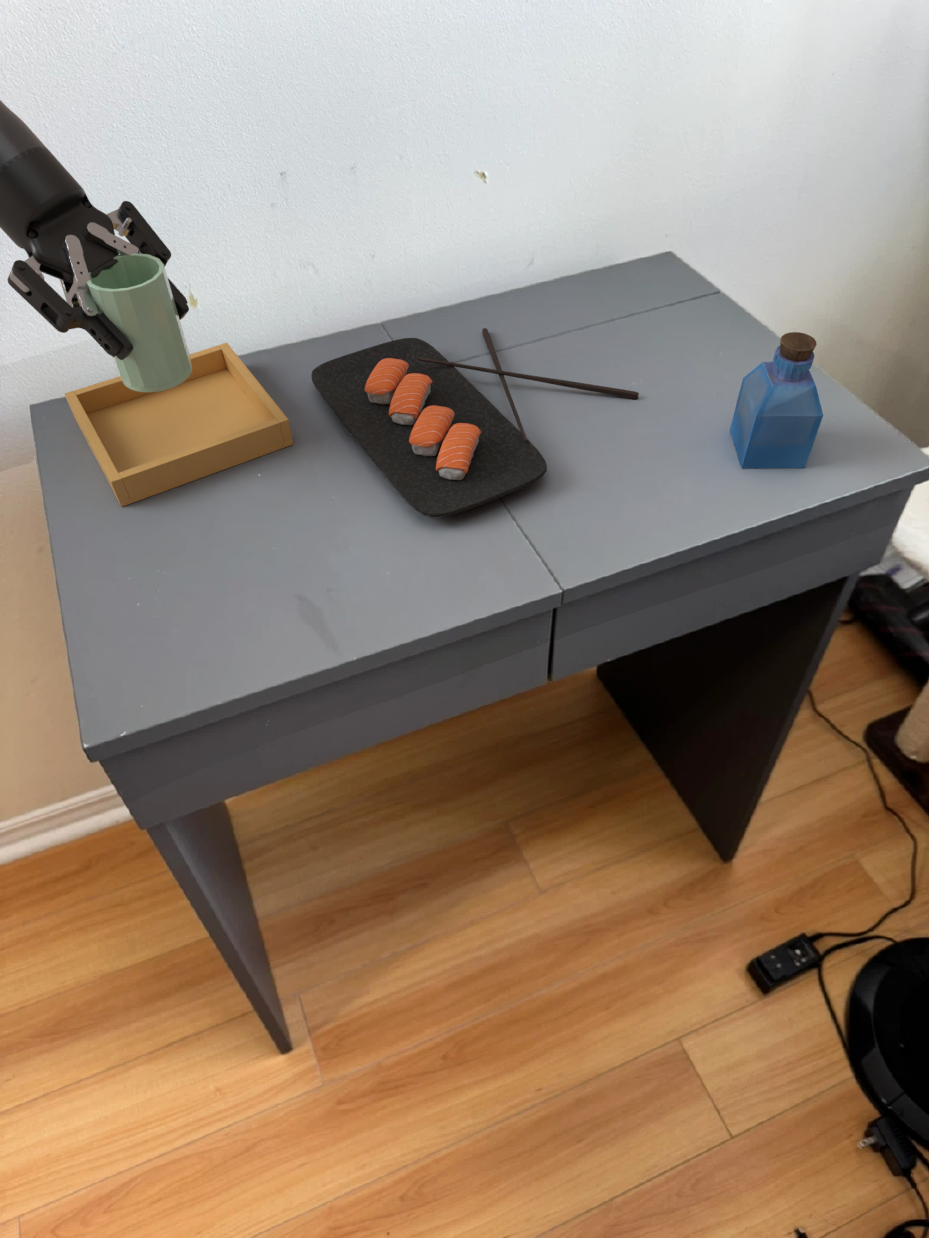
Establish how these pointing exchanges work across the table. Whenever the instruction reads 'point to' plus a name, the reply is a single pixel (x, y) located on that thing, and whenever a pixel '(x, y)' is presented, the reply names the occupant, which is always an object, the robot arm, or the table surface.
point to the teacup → (144, 322)
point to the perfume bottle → (778, 408)
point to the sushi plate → (434, 424)
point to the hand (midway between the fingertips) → (156, 334)
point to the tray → (179, 426)
